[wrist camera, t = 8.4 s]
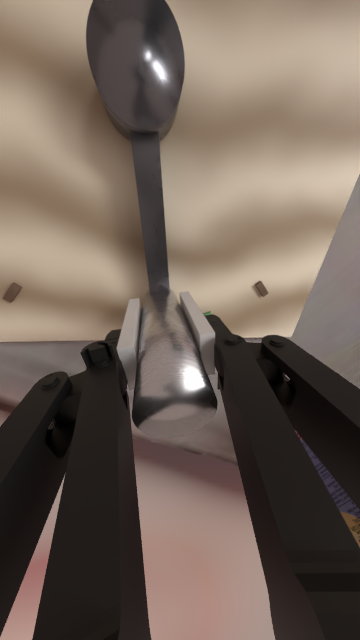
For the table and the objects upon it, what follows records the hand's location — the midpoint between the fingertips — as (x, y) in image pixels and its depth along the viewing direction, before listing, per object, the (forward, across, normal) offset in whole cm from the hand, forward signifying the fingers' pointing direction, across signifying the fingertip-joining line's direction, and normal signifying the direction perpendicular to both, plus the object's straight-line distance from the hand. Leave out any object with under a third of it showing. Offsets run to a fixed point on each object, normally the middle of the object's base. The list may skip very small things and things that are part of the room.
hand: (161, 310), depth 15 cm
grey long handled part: (+2, 0, +7) cm, 7 cm away
